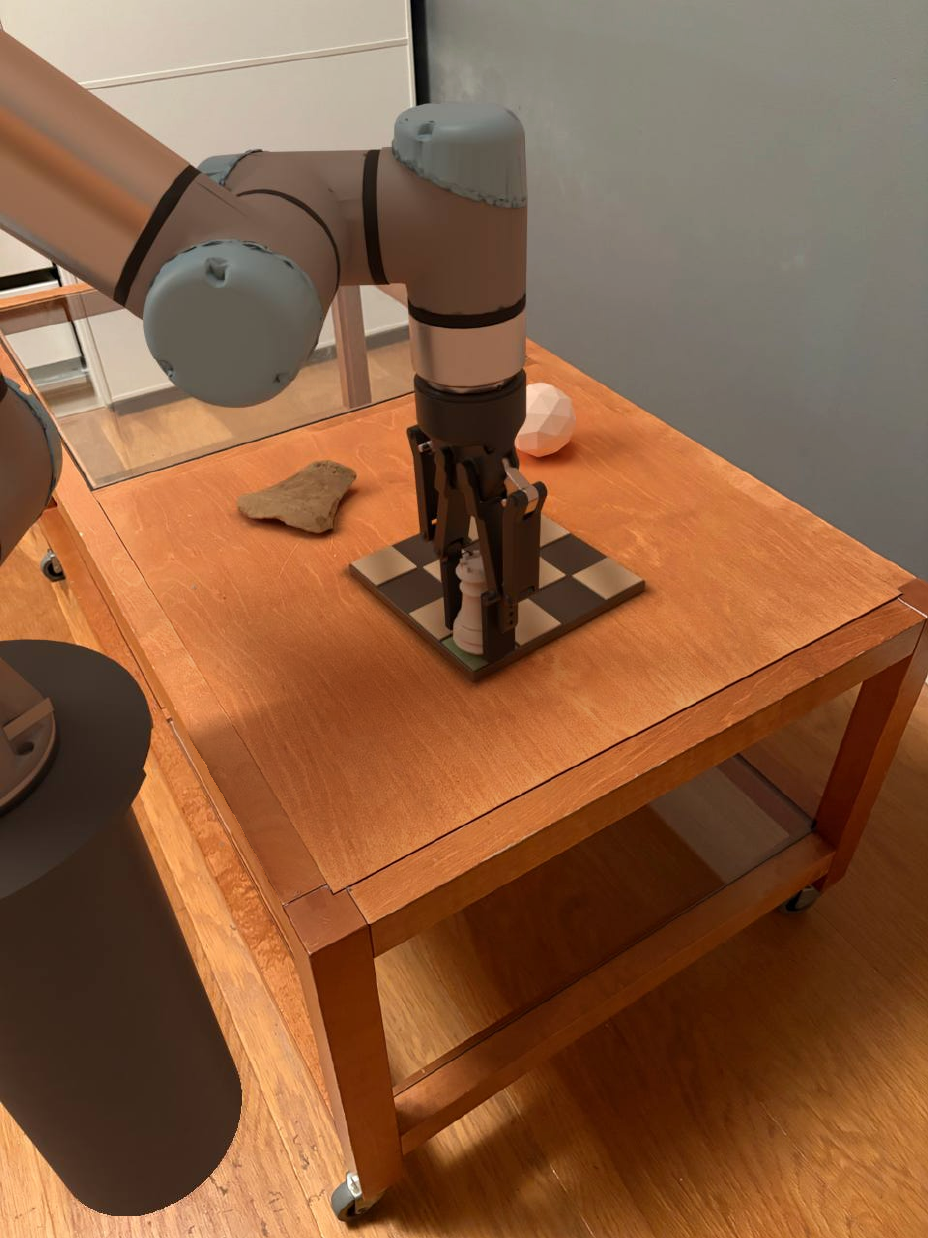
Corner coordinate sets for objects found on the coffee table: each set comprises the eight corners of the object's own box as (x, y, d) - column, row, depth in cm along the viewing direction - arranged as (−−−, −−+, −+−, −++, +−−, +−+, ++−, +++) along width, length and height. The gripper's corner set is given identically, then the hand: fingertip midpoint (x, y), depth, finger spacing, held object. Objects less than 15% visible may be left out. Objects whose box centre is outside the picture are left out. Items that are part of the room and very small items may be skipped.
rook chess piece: (472, 665, 75) (468, 584, 70) (442, 635, 78) (436, 556, 73) (518, 643, 77) (517, 563, 72) (487, 615, 80) (483, 536, 75)
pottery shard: (327, 551, 93) (372, 482, 98) (313, 520, 90) (360, 450, 95) (239, 533, 97) (287, 467, 103) (222, 502, 94) (273, 436, 99)
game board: (473, 683, 76) (473, 672, 75) (349, 572, 88) (347, 562, 87) (645, 590, 84) (646, 579, 84) (509, 501, 97) (509, 491, 96)
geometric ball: (531, 463, 108) (534, 392, 107) (588, 459, 102) (592, 385, 102) (486, 454, 102) (490, 379, 102) (545, 450, 97) (549, 371, 96)
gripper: (602, 397, 59) (586, 674, 73) (438, 316, 70) (453, 571, 84) (508, 436, 55) (511, 717, 70) (351, 344, 66) (383, 604, 81)
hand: (479, 637), depth 77 cm, fingers closed on rook chess piece, 4 cm apart
